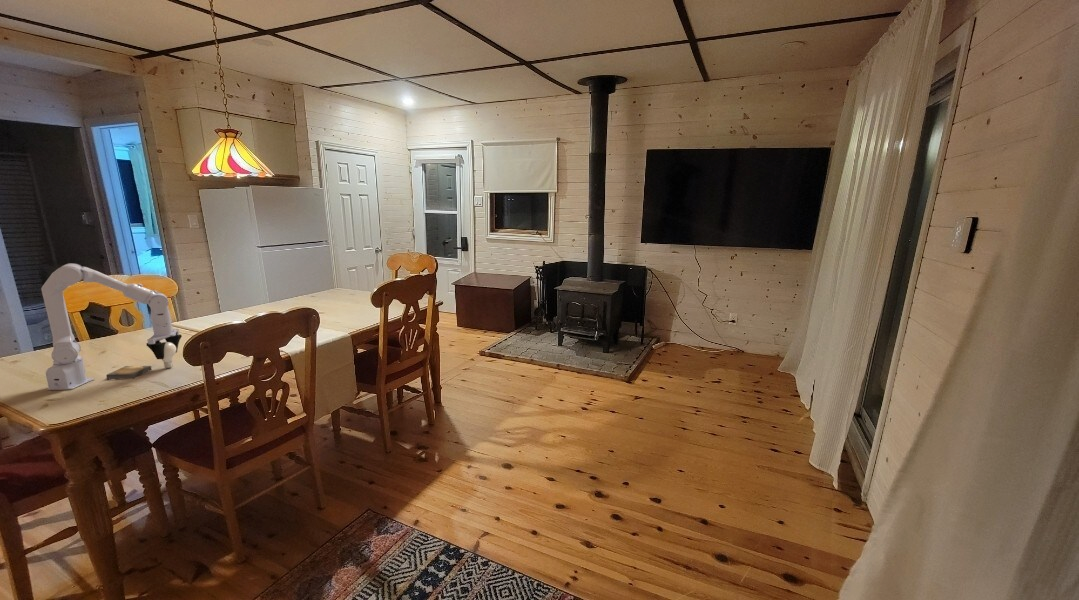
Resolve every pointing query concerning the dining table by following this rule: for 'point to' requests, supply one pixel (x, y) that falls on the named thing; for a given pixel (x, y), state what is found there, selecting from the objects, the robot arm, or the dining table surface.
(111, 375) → the charcoal base
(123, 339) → the dining table surface
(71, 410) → the dining table surface
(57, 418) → the dining table surface
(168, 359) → the lightbulb
